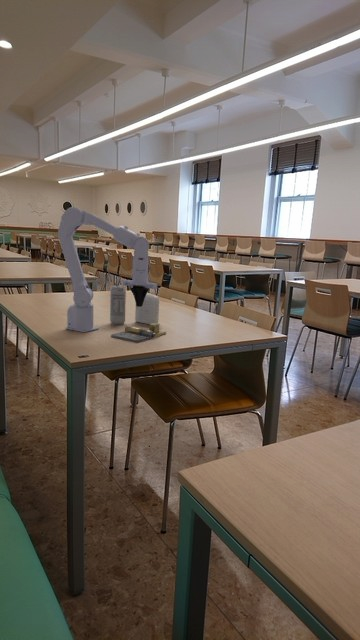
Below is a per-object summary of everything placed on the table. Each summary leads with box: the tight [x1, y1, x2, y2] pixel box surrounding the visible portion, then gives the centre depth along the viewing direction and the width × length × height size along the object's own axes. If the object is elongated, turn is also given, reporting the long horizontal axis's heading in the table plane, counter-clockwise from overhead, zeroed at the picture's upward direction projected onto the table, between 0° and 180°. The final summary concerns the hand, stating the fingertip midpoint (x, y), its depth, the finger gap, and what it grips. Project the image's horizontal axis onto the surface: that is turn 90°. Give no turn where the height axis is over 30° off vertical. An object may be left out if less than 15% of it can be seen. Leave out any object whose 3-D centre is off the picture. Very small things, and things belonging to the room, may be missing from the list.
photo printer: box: [134, 293, 160, 325], centre depth 170 cm, size 10×4×12 cm, turn 60°
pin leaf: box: [110, 330, 156, 344], centre depth 146 cm, size 13×10×2 cm
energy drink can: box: [109, 285, 127, 326], centre depth 167 cm, size 6×6×15 cm
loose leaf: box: [124, 323, 167, 338], centre depth 153 cm, size 12×10×4 cm
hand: (139, 306), depth 156 cm, fingers closed
